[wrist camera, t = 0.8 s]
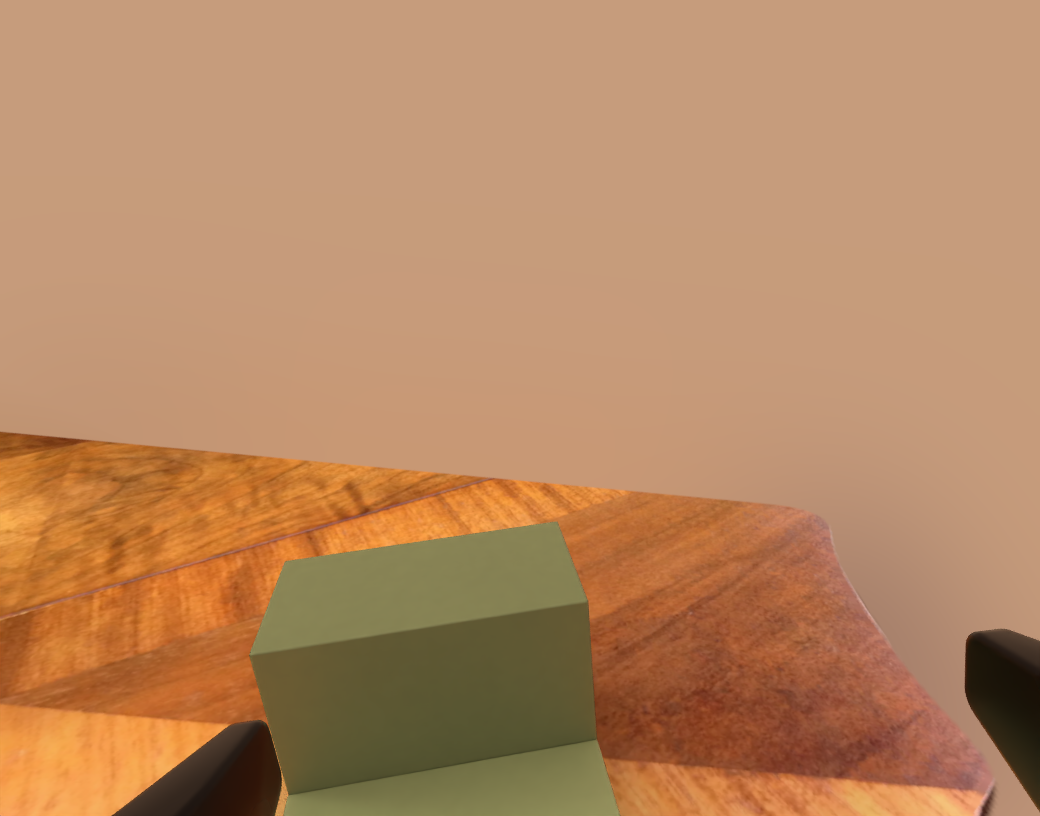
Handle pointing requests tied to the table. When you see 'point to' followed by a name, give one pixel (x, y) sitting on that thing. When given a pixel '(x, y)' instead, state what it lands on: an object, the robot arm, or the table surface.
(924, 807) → the table surface
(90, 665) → the table surface
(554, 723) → the olive l-shaped block
